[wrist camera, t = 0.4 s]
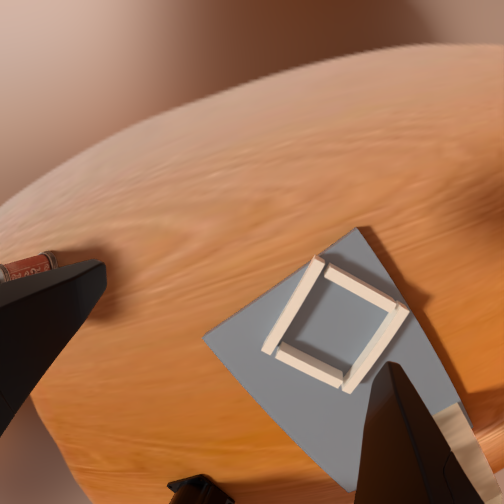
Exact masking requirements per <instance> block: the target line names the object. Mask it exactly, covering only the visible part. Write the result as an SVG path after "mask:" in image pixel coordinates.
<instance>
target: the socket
mask: <svg viewBox="0 0 504 504" xmlns="http://www.w3.org/2000/svg"><path fill="white" fill-rule="evenodd" d="M324 265H325V260H324V259H322V258H320V257H319V256H317V255H314V257H313V259H312V261H311V262H310V264H309V266H308V268H307V269H306V271H305V273H304V275H303V277H302V278H301V280H300V282H299V284H298V285H297V287H296V289H295V291H294V292H293V294H292V296H291V298H290V299H289V301H288V303H287V304H286V306H285V308H284V310H283V311H282V313H281V315H280V316H279V318H278V320H277V321H276V323H275V325H274V326H273V328H272V330H271V331H270V333H269V335H268V336H267V338H266V340H265V341H264V344H263V346H262V349H261V351H263V352H265V353H267V354H268V355H271V354H272V352H273V350H274V349H275V347H276V346H277V344H278V343H279V341H280V339H281V338H282V336H283V334H284V333H285V331H286V330H287V328H288V326H289V325H290V323H291V321H292V320H293V318H294V317H295V315H296V313H297V312H298V310H299V308H300V307H301V305H302V303H303V301H304V300H305V298H306V296H307V295H308V293H309V291H310V290H311V288H312V286H313V284H314V283H315V281H316V279H317V278H318V276H319V274H320V272H321V271H322V269H323V267H324ZM324 277H325V278H327V279H329V280H331V281H332V282H334V283H336V284H338V285H340V286H342V287H343V288H345V289H347V290H349V291H351V292H353V293H354V294H356V295H358V296H360V297H362V298H364V299H365V300H367V301H369V302H371V303H373V304H374V305H376V306H378V307H380V308H382V309H384V310H385V311H387V312H389V313H388V315H387V316H386V318H385V319H384V321H383V322H382V324H381V325H380V327H379V328H378V330H377V331H376V333H375V334H374V336H373V337H372V339H371V340H370V342H369V343H368V344H367V346H366V347H365V349H364V350H363V352H362V353H361V354H360V356H359V357H358V359H357V360H356V361H355V363H354V364H353V365H352V367H351V368H350V369H349V371H348V372H347V373H346V375H345V376H344V377H343V372H342V371H340V370H338V369H336V368H334V367H332V366H330V365H328V364H326V363H324V362H322V361H320V360H318V359H316V358H314V357H312V356H310V355H308V354H306V353H304V352H302V351H300V350H298V349H296V348H294V347H292V346H290V345H288V344H286V343H285V342H283V341H282V343H281V344H280V346H279V347H278V349H277V353H276V356H275V358H276V359H278V360H280V361H282V362H284V363H286V364H288V365H290V366H292V367H294V368H296V369H298V370H300V371H302V372H304V373H306V374H308V375H310V376H312V377H314V378H316V379H318V380H320V381H323V382H325V383H327V384H329V385H331V386H333V387H335V388H337V389H338V388H339V386H340V385H342V391H344V392H346V393H348V394H351V393H352V391H353V390H354V389H355V388H356V386H357V385H358V384H359V383H360V381H361V380H362V379H363V377H364V376H365V375H366V374H367V372H368V371H369V370H370V368H371V367H372V366H373V364H374V363H375V362H376V360H377V359H378V357H379V356H380V355H381V353H382V352H383V350H384V349H385V348H386V346H387V345H388V343H389V342H390V340H391V339H392V338H393V336H394V335H395V333H396V332H397V330H398V329H399V327H400V326H401V324H402V323H403V321H404V320H405V318H406V317H407V315H408V313H409V312H410V311H409V310H408V308H407V307H406V306H405V304H403V303H401V302H399V301H398V300H396V302H395V301H394V299H393V298H392V297H391V296H389V295H387V294H385V293H383V292H382V291H380V290H378V289H376V288H375V287H373V286H371V285H369V284H367V283H366V282H364V281H362V280H360V279H359V278H357V277H355V276H353V275H351V274H350V273H348V272H346V271H344V270H342V269H340V268H339V267H337V266H335V265H333V264H331V263H330V262H329V264H328V266H327V267H326V269H325V271H324Z"/></svg>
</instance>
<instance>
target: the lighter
mask: <svg viewBox="0 0 504 504" xmlns="http://www.w3.org/2000/svg"><path fill="white" fill-rule="evenodd" d="M55 268H58V264H57V260H56V257H55V256H54V254H53V253H52V252H50V251H45V252H42V253H39V254H38V255H37V256H33V257H30V258H26V259H23V260H19V261H16V262H12V263H9V264H5V265H2V264H0V283H1V284H2V283H3V282H6V281H10V280H14V279H17V278H21V277H25V276H29V275H32V274H36V273H40V272H44V271H48V270H52V269H55Z"/></svg>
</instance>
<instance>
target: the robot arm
mask: <svg viewBox="0 0 504 504" xmlns="http://www.w3.org/2000/svg"><path fill="white" fill-rule="evenodd" d="M106 286H107V277H106V265H105V263H104V262H101V261H99V260H97V259H91V260H87V261H83V262H79V263H75V264H71V265H67V266H63V267H59V268H55V269H52V270H48V271H44V272H40V273H36V274H32V275H29V276H25V277H21V278H17V279H14V280H10V281H6V282H3V283H2V284H1V283H0V437H1V435H2V434H3V432H4V431H5V429H6V428H7V426H8V425H9V423H10V422H11V420H12V419H13V417H14V416H15V414H16V413H17V411H18V410H19V408H20V407H21V405H22V404H23V403H24V401H25V400H26V398H27V397H28V396H29V394H30V393H31V391H32V390H33V389H34V387H35V386H36V384H37V383H38V382H39V380H40V379H41V378H42V376H43V375H44V374H45V372H46V371H47V370H48V368H49V367H50V366H51V364H52V363H53V362H54V360H55V359H56V358H57V356H58V355H59V354H60V352H61V351H62V350H63V349H64V347H65V346H66V345H67V343H68V342H69V341H70V340H71V338H72V337H73V336H74V335H75V333H76V332H77V331H78V330H79V328H80V327H81V326H82V324H83V323H84V321H85V320H86V318H87V317H88V315H89V314H90V312H91V311H92V309H93V308H94V306H95V305H96V303H97V302H98V300H99V299H100V297H101V296H102V294H103V293H104V291H105V289H106ZM167 487H168V488H169V489H170V490H172V491H173V492H174V493H175V494H174V496H173V498H172V499H171V501H170V503H169V504H235V501H233V500H232V499H231V498H230V497H228V496H227V495H226V494H225V493H223V492H222V491H221V490H220V489H218V488H217V487H216V486H215V485H214V484H212V483H211V482H210V481H209V480H208V479H206V478H205V477H204V476H202V475H196V476H193V477H189V478H185V479H182V480H178V481H174V482H170V483H168V484H167ZM354 504H485V503H484V501H483V500H482V498H481V497H480V495H479V494H478V492H477V491H476V489H475V488H474V486H473V485H472V483H471V482H470V480H469V478H468V477H467V475H466V474H465V472H464V470H463V469H462V467H461V465H460V464H459V462H458V460H457V458H456V456H455V455H454V453H453V451H451V448H450V446H449V444H448V442H447V441H446V439H445V437H444V436H443V434H442V432H441V430H440V429H439V427H438V425H437V423H436V422H435V420H434V418H433V417H432V415H431V413H430V412H429V410H428V408H427V407H426V405H425V403H424V402H423V400H422V398H421V397H420V395H419V394H418V392H417V390H416V389H415V387H414V385H413V384H412V382H411V381H410V379H409V377H408V376H407V374H406V373H405V371H404V370H403V368H402V366H401V365H400V364H399V363H396V362H392V361H387V362H385V363H384V365H383V366H382V368H381V369H380V371H379V372H378V373H377V375H376V376H375V378H374V380H373V382H372V386H371V392H370V397H369V403H368V408H367V413H366V418H365V423H364V429H363V438H362V447H361V456H360V465H359V473H358V480H357V487H356V494H355V500H354Z"/></svg>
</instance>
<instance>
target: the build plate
mask: <svg viewBox="0 0 504 504" xmlns="http://www.w3.org/2000/svg"><path fill="white" fill-rule="evenodd" d="M317 256H319V257H320V258H322V259H324V260H325V265H324V267H323V269H322V271H321V272H320V274H319V276H318V278H317V279H316V281H315V283H314V284H313V286H312V288H311V290H310V291H309V293H308V295H307V296H306V298H305V300H304V301H303V303H302V305H301V307H300V308H299V310H298V312H297V313H296V315H295V317H294V318H293V320H292V321H291V323H290V325H289V326H288V328H287V330H286V331H285V333H284V334H283V336H282V338H281V339H280V341H279V343H278V344H277V346H276V347H275V349H274V350H273V352H272V354H271V355H268V354H267V353H265V352H263V351H261V349H262V346H263V344H264V341H265V340H266V338H267V336H268V335H269V333H270V331H271V330H272V328H273V326H274V325H275V323H276V321H277V320H278V318H279V316H280V315H281V313H282V311H283V310H284V308H285V306H286V304H287V303H288V301H289V299H290V298H291V296H292V294H293V292H294V291H295V289H296V287H297V285H298V284H299V282H300V280H301V278H302V277H303V275H304V273H305V271H306V269H307V268H308V266H309V264H310V262H311V261H312V260H310V261H309V262H308V263H306V264H305V265H303V266H302V267H301V268H299V269H298V270H296V271H295V272H294V273H292V274H291V275H289V276H288V277H287V278H285V279H284V280H282V281H281V282H279V283H278V284H277V285H275V286H274V287H272V288H271V289H270V290H268V291H267V292H265V293H264V294H262V295H261V296H260V297H258V298H257V299H255V300H254V301H252V302H251V303H249V304H248V305H247V306H245V307H244V308H242V309H241V310H239V311H238V312H236V313H235V314H233V315H232V316H230V317H229V318H228V319H226V320H225V321H223V322H222V323H220V324H219V325H217V326H216V327H214V328H213V329H211V330H210V331H208V332H207V333H205V335H204V336H203V337H202V339H203V340H204V341H205V343H206V344H207V345H208V346H209V347H210V349H211V350H212V351H213V352H214V353H215V355H216V356H217V357H218V358H219V359H220V361H221V362H222V363H223V364H224V365H225V366H226V368H227V369H228V370H229V371H230V372H231V373H232V375H233V376H234V377H235V378H236V379H237V380H238V381H239V383H240V384H241V385H242V386H243V387H244V388H245V389H246V390H247V392H248V393H249V394H250V395H251V396H252V397H253V398H254V399H255V400H256V402H257V403H258V404H259V405H260V406H261V407H262V408H263V409H264V410H265V411H266V412H267V413H268V414H269V416H270V417H271V418H272V419H273V420H274V421H275V422H276V423H277V424H278V425H279V426H280V427H281V428H282V429H283V430H284V431H285V432H286V433H287V434H288V435H289V436H290V437H291V439H292V440H293V441H294V442H295V443H296V444H297V445H298V446H299V447H300V448H301V449H302V450H303V451H304V452H305V453H306V454H307V455H308V456H310V457H311V458H312V459H313V460H314V461H315V462H316V463H317V464H318V465H319V466H320V467H321V468H322V469H323V470H324V471H325V472H326V473H327V474H328V475H329V476H330V477H331V478H333V479H334V480H335V481H336V482H337V483H338V484H339V485H340V486H341V487H342V488H343V489H345V490H346V491H347V492H348V493H350V492H352V491H355V490H356V487H357V480H358V473H359V465H360V456H361V447H362V438H363V429H364V423H365V418H366V413H367V408H368V403H369V397H370V392H371V386H372V382H373V380H374V378H375V376H376V375H377V373H378V372H379V371H380V369H381V368H382V366H383V365H384V363H385V362H387V361H392V362H396V363H399V364H400V365H401V366H402V368H403V370H404V371H405V373H406V374H407V376H408V377H409V379H410V381H411V382H412V384H413V385H414V387H415V389H416V390H417V392H418V394H419V395H420V397H421V398H422V400H423V402H424V403H425V405H426V407H427V408H428V410H429V412H430V413H431V415H434V414H436V413H438V412H440V411H442V410H444V409H445V408H447V407H449V406H451V405H453V404H455V403H456V402H457V403H458V405H459V407H460V409H461V411H462V412H463V414H464V416H465V418H466V420H467V422H468V424H469V425H470V427H471V429H472V428H473V425H472V423H471V421H470V418H469V416H468V414H467V412H466V410H465V408H464V406H463V404H462V402H461V400H460V398H459V396H458V394H457V392H456V390H455V388H454V386H453V384H452V382H451V380H450V378H449V376H448V374H447V373H446V371H445V369H444V367H443V365H442V363H441V361H440V360H439V358H438V356H437V354H436V352H435V351H434V349H433V347H432V345H431V343H430V342H429V340H428V338H427V336H426V335H425V333H424V331H423V330H422V328H421V326H420V324H419V323H418V321H417V319H416V318H415V316H414V314H413V313H412V311H411V309H410V308H409V306H408V304H407V303H406V301H405V300H404V298H403V296H402V295H401V293H400V292H399V290H398V288H397V287H396V285H395V284H394V282H393V281H392V279H391V278H390V276H389V274H388V273H387V271H386V270H385V268H384V267H383V265H382V264H381V262H380V261H379V259H378V258H377V256H376V255H375V253H374V252H373V250H372V249H371V247H370V246H369V245H368V243H367V242H366V240H365V239H364V237H363V236H362V234H361V233H360V232H359V230H358V229H357V228H356V227H355V228H354V229H353V230H351V231H350V232H349V233H347V234H346V235H344V236H343V237H342V238H340V239H339V240H338V241H336V242H335V243H334V244H332V245H331V246H330V247H328V248H327V249H325V250H324V251H323V252H321V253H320V254H319V255H317ZM329 262H330V263H331V264H333V265H335V266H337V267H339V268H340V269H342V270H344V271H346V272H348V273H350V274H351V275H353V276H355V277H357V278H359V279H360V280H362V281H364V282H366V283H367V284H369V285H371V286H373V287H375V288H376V289H378V290H380V291H382V292H383V293H385V294H387V295H389V296H391V297H392V298H393V299H394V301H395V302H396V300H398V301H399V302H401V303H403V304H405V306H406V307H407V308H408V310H409V311H410V312H409V313H408V315H407V317H406V318H405V320H404V321H403V323H402V324H401V326H400V327H399V329H398V330H397V332H396V333H395V335H394V336H393V338H392V339H391V340H390V342H389V343H388V345H387V346H386V348H385V349H384V350H383V352H382V353H381V355H380V356H379V357H378V359H377V360H376V362H375V363H374V364H373V366H372V367H371V368H370V370H369V371H368V372H367V374H366V375H365V376H364V377H363V379H362V380H361V381H360V383H359V384H358V385H357V386H356V388H355V389H354V390H353V391H352V393H351V394H348V393H346V392H344V391H342V385H340V386H339V388H338V389H337V388H335V387H333V386H331V385H329V384H327V383H325V382H323V381H320V380H318V379H316V378H314V377H312V376H310V375H308V374H306V373H304V372H302V371H300V370H298V369H296V368H294V367H292V366H290V365H288V364H286V363H284V362H282V361H280V360H278V359H276V358H275V356H276V353H277V349H278V347H279V346H280V344H281V343H282V341H283V342H285V343H286V344H288V345H290V346H292V347H294V348H296V349H298V350H300V351H302V352H304V353H306V354H308V355H310V356H312V357H314V358H316V359H318V360H320V361H322V362H324V363H326V364H328V365H330V366H332V367H334V368H336V369H338V370H340V371H342V372H343V377H344V376H345V375H346V373H347V372H348V371H349V369H350V368H351V367H352V365H353V364H354V363H355V361H356V360H357V359H358V357H359V356H360V354H361V353H362V352H363V350H364V349H365V347H366V346H367V344H368V343H369V342H370V340H371V339H372V337H373V336H374V334H375V333H376V331H377V330H378V328H379V327H380V325H381V324H382V322H383V321H384V319H385V318H386V316H387V315H388V313H389V312H387V311H385V310H384V309H382V308H380V307H378V306H376V305H374V304H373V303H371V302H369V301H367V300H365V299H364V298H362V297H360V296H358V295H356V294H354V293H353V292H351V291H349V290H347V289H345V288H343V287H342V286H340V285H338V284H336V283H334V282H332V281H331V280H329V279H327V278H325V277H324V271H325V269H326V267H327V266H328V264H329Z"/></svg>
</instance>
